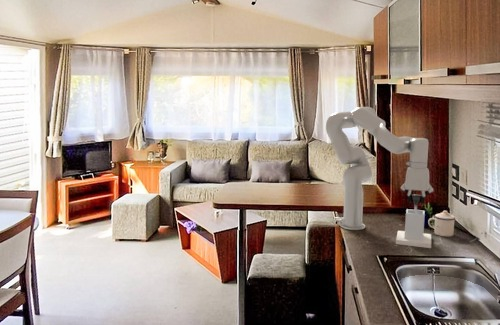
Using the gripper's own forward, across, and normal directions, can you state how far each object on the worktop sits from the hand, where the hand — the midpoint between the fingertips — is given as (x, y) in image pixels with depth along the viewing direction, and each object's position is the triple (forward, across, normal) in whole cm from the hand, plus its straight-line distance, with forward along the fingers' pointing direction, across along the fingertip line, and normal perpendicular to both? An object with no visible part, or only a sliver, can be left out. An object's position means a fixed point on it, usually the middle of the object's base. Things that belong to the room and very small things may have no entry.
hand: (415, 204), depth 205 cm
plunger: (+14, 0, 0) cm, 14 cm away
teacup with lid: (+18, +12, +17) cm, 27 cm away
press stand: (+18, 0, 0) cm, 18 cm away
